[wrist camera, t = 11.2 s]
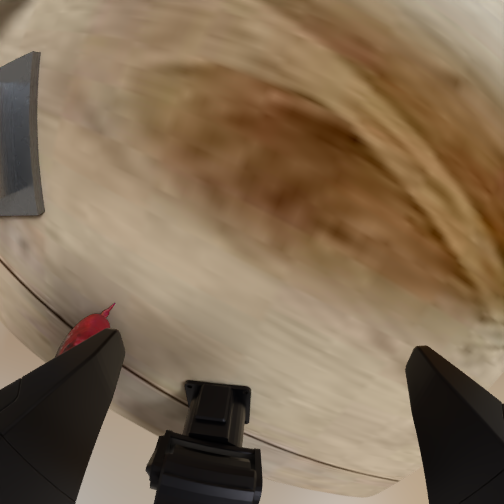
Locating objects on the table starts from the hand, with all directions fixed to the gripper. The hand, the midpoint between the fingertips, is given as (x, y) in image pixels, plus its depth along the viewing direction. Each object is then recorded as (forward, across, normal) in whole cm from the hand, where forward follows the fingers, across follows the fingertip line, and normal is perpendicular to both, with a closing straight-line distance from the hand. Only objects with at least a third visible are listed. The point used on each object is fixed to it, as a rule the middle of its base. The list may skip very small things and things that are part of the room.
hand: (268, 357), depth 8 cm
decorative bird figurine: (+13, +16, +11) cm, 24 cm away
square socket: (+13, +26, -7) cm, 30 cm away
